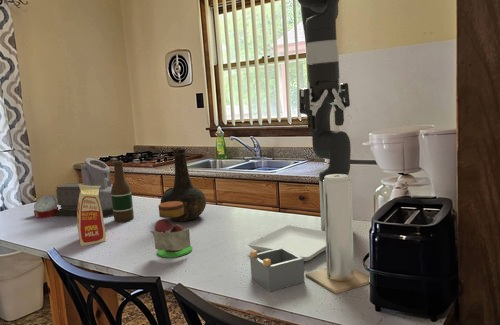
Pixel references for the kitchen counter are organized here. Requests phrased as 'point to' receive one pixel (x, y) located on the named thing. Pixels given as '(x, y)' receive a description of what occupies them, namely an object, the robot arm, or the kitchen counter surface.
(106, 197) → the juicer
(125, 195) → the beer bottle
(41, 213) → the red white domed cylinder
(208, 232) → the kitchen counter surface
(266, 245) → the salad plate
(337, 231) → the white tall cylinder
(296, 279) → the box
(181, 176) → the glass bottle
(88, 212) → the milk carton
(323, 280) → the mat
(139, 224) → the kitchen counter surface
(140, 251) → the kitchen counter surface
